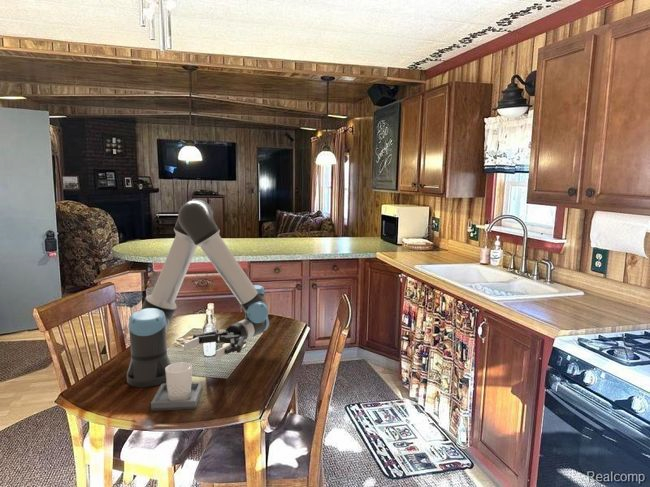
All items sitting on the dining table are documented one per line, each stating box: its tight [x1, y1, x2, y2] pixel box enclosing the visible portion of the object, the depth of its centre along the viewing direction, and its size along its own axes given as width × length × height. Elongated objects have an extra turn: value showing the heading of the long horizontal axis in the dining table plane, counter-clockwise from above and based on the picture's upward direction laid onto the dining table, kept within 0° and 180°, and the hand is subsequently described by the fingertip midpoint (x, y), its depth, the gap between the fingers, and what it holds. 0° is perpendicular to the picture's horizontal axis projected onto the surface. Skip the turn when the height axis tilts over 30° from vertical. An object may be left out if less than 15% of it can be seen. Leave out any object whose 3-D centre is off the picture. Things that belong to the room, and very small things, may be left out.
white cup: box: [165, 361, 193, 401], centre depth 141 cm, size 8×8×10 cm
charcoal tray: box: [150, 381, 204, 412], centre depth 142 cm, size 13×13×2 cm
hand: (200, 350), depth 149 cm, fingers open, 13 cm apart
